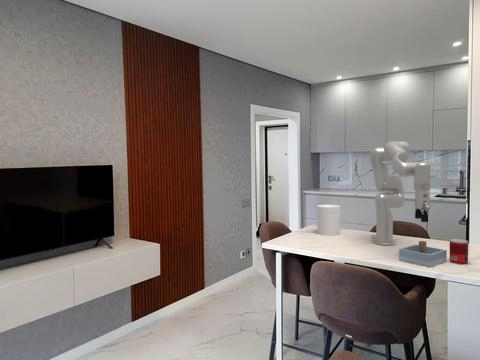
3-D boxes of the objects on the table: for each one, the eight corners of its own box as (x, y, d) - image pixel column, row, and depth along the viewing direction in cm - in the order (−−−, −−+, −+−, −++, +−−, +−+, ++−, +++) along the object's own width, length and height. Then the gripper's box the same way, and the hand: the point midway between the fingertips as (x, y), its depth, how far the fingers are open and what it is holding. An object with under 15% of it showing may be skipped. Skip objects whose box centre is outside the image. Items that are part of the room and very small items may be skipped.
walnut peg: (417, 260, 184) (417, 241, 183) (420, 259, 186) (420, 240, 185) (424, 262, 181) (424, 242, 180) (427, 261, 183) (427, 241, 182)
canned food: (469, 264, 175) (469, 242, 175) (450, 263, 178) (451, 241, 178) (466, 260, 182) (466, 239, 182) (448, 259, 185) (448, 238, 185)
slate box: (399, 260, 185) (399, 248, 185) (415, 255, 194) (415, 244, 194) (430, 267, 172) (430, 255, 172) (446, 261, 181) (446, 250, 181)
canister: (313, 234, 256) (313, 206, 255) (323, 230, 269) (322, 204, 268) (335, 236, 246) (334, 207, 245) (343, 232, 259) (343, 205, 258)
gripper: (436, 188, 174) (435, 223, 175) (424, 185, 191) (423, 217, 192) (419, 188, 175) (418, 223, 176) (409, 185, 192) (408, 217, 193)
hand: (421, 220), depth 184 cm, fingers open, 9 cm apart
